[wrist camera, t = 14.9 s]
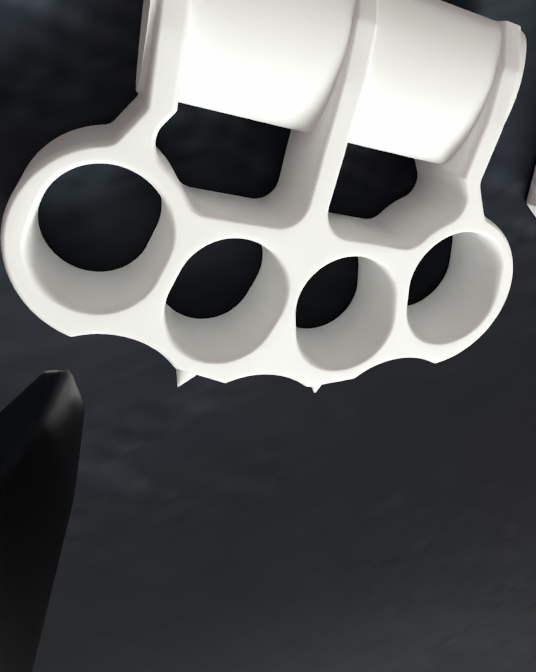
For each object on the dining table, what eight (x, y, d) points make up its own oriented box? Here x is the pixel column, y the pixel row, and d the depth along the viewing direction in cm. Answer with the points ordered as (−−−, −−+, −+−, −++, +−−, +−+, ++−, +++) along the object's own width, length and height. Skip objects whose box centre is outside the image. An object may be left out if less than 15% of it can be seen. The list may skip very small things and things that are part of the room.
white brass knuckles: (551, 54, 19) (411, 378, 26) (23, -139, 13) (13, 354, 19) (628, 57, 16) (448, 420, 23) (0, -187, 10) (-2, 408, 17)
